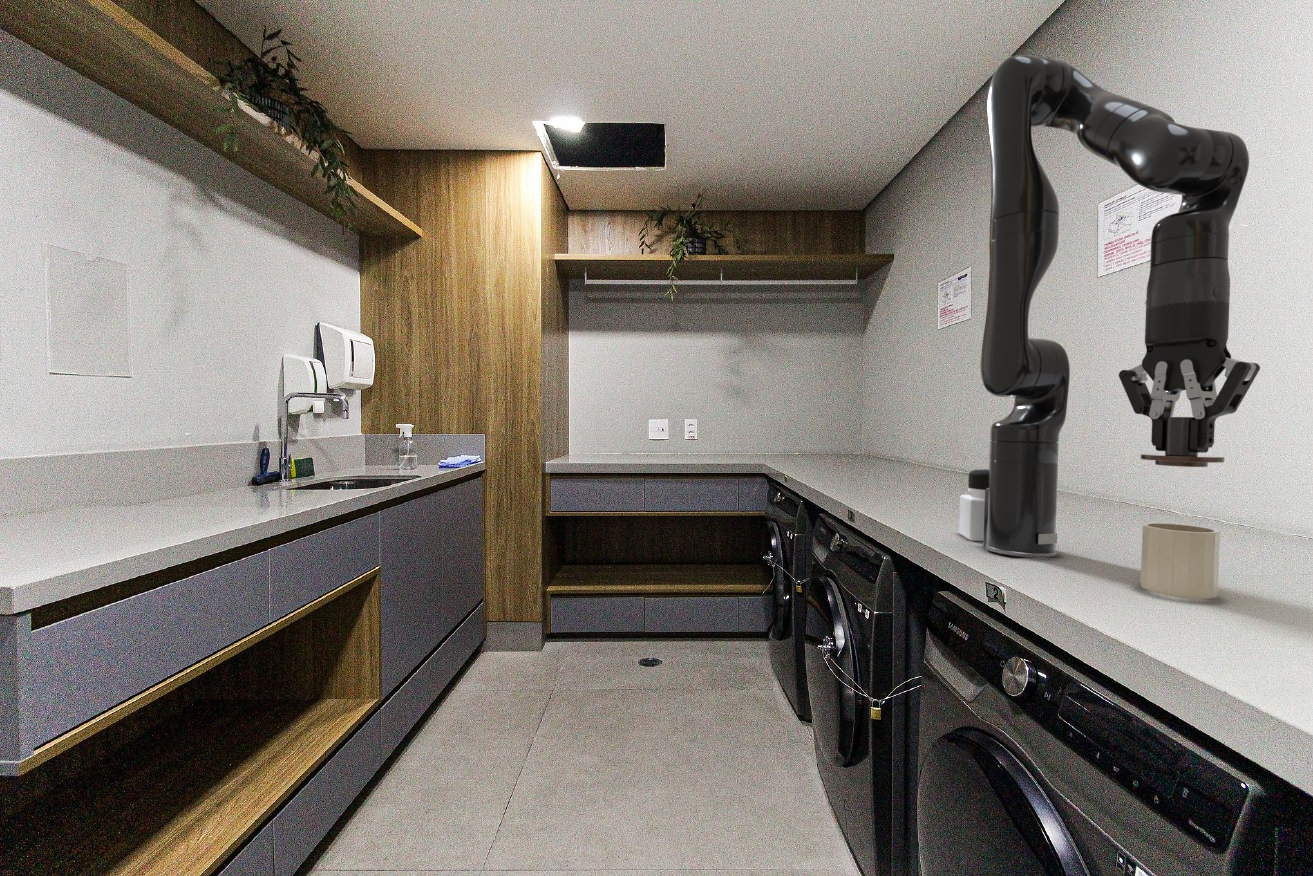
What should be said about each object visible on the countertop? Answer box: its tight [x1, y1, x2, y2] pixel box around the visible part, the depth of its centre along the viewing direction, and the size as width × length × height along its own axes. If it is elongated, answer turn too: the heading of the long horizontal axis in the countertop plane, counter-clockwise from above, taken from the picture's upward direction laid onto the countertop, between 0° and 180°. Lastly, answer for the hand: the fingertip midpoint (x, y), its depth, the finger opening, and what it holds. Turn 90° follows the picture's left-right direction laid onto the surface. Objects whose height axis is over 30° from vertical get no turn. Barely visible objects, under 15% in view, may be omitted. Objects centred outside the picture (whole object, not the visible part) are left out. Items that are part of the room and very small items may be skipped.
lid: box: [1139, 416, 1225, 468], centre depth 75 cm, size 8×8×6 cm
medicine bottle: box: [958, 468, 989, 542], centre depth 111 cm, size 7×7×12 cm
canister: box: [1139, 522, 1221, 600], centre depth 75 cm, size 7×7×8 cm
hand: (1181, 450), depth 75 cm, fingers closed on lid, 3 cm apart
